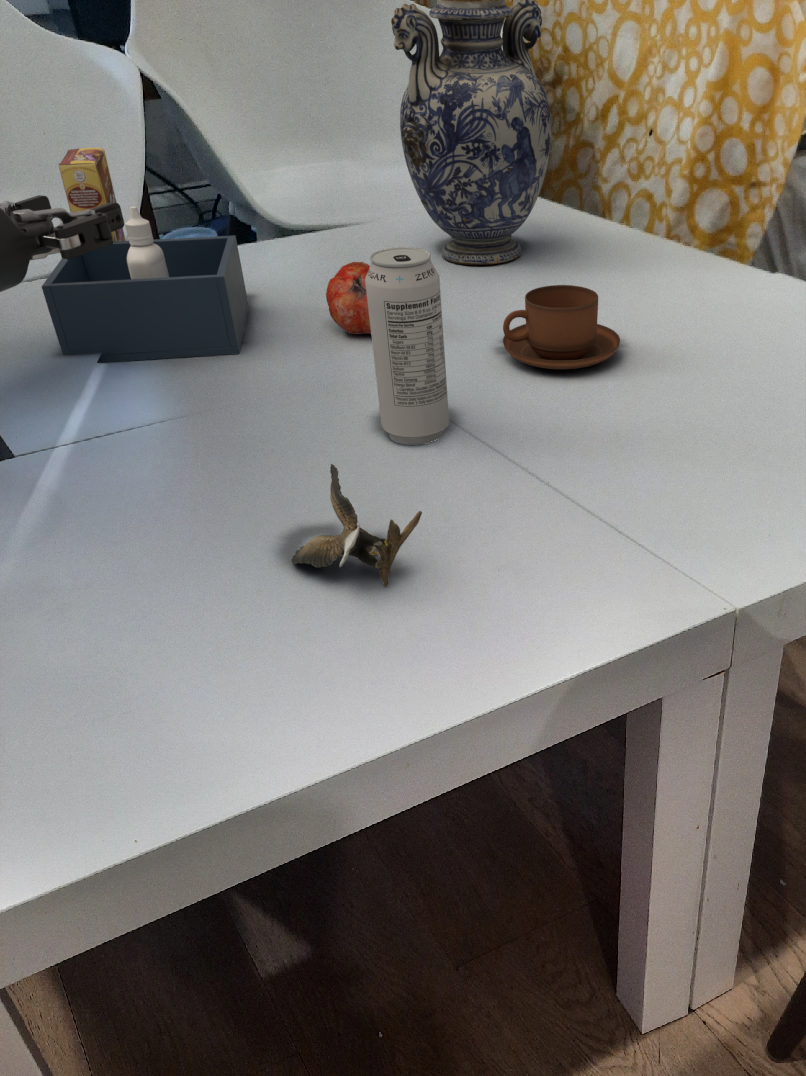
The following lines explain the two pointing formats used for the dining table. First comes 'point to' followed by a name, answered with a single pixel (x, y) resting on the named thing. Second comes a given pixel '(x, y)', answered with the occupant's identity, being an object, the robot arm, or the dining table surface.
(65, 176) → the candy box
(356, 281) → the pomegranate
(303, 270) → the dining table surface
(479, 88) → the decorative vase
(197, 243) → the bin
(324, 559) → the eagle figurine
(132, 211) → the eye dropper bottle
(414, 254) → the energy drink can
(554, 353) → the cup and saucer
